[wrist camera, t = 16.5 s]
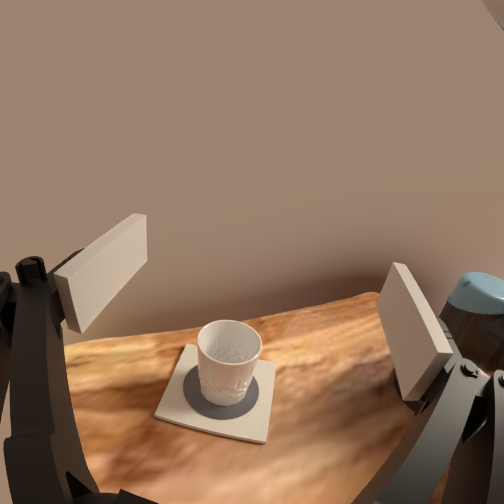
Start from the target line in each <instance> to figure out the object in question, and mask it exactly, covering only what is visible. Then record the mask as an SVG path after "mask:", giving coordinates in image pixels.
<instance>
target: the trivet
mask: <svg viewBox="0 0 504 504" xmlns="http://www.w3.org/2000/svg"><path fill="white" fill-rule="evenodd" d="M275 370H276V363H275V362H270V361H264V360H259V359H258V362H257V365H256V368H255V371H254V374H253V377H252V380H251V383H250V385H249V386H248V388H247V391H246V394H245V397H244V398H243V399H242V400H241V401H240V402H239V403H237V404H234V405H230V406H221V405H215V404H213V403H212V402H210V401H208V400H207V399H206V398H205V397H204V396H203V394H202V393H201V388H200V379H199V372H198V352H197V346H196V345H193V344H189V343H187V344H186V346H185V348H184V351H183V353H182V355H181V357H180V359H179V361H178V364H177V366H176V368H175V370H174V372H173V375H172V377H171V379H170V381H169V383H168V386H167V388H166V390H165V392H164V394H163V397H162V399H161V401H160V403H159V405H158V408H157V410H156V412H155V417H156V418H159V419H162V420H165V421H168V422H172V423H175V424H178V425H182V426H185V427H189V428H192V429H196V430H200V431H204V432H208V433H212V434H216V435H220V436H225V437H229V438H234V439H239V440H244V441H250V442H256V443H262V444H265V443H266V439H267V432H268V425H269V418H270V410H271V403H272V395H273V387H274V379H275Z"/></svg>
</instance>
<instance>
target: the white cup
mask: <svg viewBox="0 0 504 504" xmlns="http://www.w3.org/2000/svg"><path fill="white" fill-rule="evenodd" d="M261 349H262V341H261V338H260V336H259V334H258V333H257V332H256V331H255V330H254V329H253V328H251V327H250V326H248V325H246V324H244V323H241V322H238V321H233V320H219V321H215V322H211V323H209V324H207V325H205V326H204V327H203V328H202V329H201V330H200V332H199V333H198V336H197V352H198V372H199V379H200V388H201V393H202V394H203V396H204V397H205V398H206V399H207V400H208V401H210V402H212V403H213V404H215V405H221V406H230V405H234V404H237V403H239V402H240V401H241V400H242V399H243V398H244V397H245V394H246V391H247V388H248V386H249V385H250V383H251V380H252V377H253V374H254V371H255V368H256V365H257V362H258V359H259V355H260V352H261Z"/></svg>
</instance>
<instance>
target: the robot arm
mask: <svg viewBox="0 0 504 504" xmlns="http://www.w3.org/2000/svg"><path fill="white" fill-rule="evenodd" d="M482 1H483V3H484V4H485V6H486V8H487V9H488V11H489V12H490V14H491V15H492V16H493V18H494V19H495V20H496V21H497V22H498V24H499V25H500V27H501V28H502V29H503V30H504V0H482ZM146 244H147V243H146V215H142V214H135V213H134V214H132V215H131V216H129V217H128V218H126V219H125V220H124V221H122V222H121V223H119V224H118V225H116V226H115V227H114V228H112V229H111V230H109V231H108V232H107V233H105V234H104V235H102V236H101V237H100V238H98V239H97V240H96V241H94V242H93V243H92V244H90V245H89V246H88V247H86V248H84V249H81V250H79V251H76V252H74V253H73V254H72V255H70V256H69V257H68V259H65V260H64V261H62V263H60V264H59V265H57V266H56V267H55V268H54V269H52V270H51V271H50V272H49V273H47V274H46V270H45V266H44V261H43V259H42V258H41V257H37V256H32V257H27V258H25V259H22V260H21V261H20V262H18V263H17V265H16V266H15V268H16V272H17V275H18V279H19V282H20V283H12V281H11V278H10V275H9V273H7V272H0V422H1V415H2V411H3V406H4V401H5V396H6V392H7V388H8V384H9V380H10V418H11V437H9V438H6V439H5V441H4V457H5V465H6V471H7V477H8V483H9V488H10V493H11V497H12V502H13V504H158V503H156V502H153V501H151V500H148V499H145V498H142V497H140V496H137V495H134V494H132V493H129V492H127V491H125V490H122V489H120V491H119V494H116V493H100V492H99V489H98V487H97V485H96V483H95V481H94V479H93V477H92V475H91V474H90V472H89V470H88V467H87V464H86V461H85V458H84V454H83V451H82V447H81V443H80V439H79V435H78V431H77V427H76V423H75V418H74V413H73V408H72V403H71V398H70V392H69V386H68V379H67V372H66V364H65V356H64V345H63V333H62V327H61V324H60V323H61V322H62V321H63V320H64V319H66V322H67V325H68V329H70V330H73V331H75V332H78V333H80V334H82V333H83V332H84V331H85V330H86V329H87V327H88V326H89V325H90V324H91V323H92V322H93V320H94V319H95V318H96V317H97V315H98V314H99V313H100V312H101V311H102V310H103V309H104V307H105V306H106V305H107V304H108V303H109V302H110V301H111V300H112V298H113V297H114V296H115V295H116V294H117V293H118V292H119V291H120V289H121V288H122V287H123V286H124V285H125V284H126V283H127V282H128V281H129V279H130V278H131V277H132V276H133V275H134V274H135V273H136V272H137V271H138V270H139V269H140V268H141V267H142V265H143V264H144V263H145V262H146V261H147V245H146ZM376 307H377V310H378V313H379V316H380V319H381V323H382V326H383V329H384V332H385V336H386V339H387V342H388V346H389V349H390V353H391V356H392V360H393V363H394V367H395V371H396V373H395V384H396V388H397V391H398V393H399V395H400V396H401V398H402V399H403V401H404V402H405V403H406V404H407V405H408V406H409V407H410V408H411V409H413V410H414V411H416V413H415V414H414V415H417V416H416V417H415V419H414V420H413V422H412V424H411V425H410V427H409V428H408V430H407V432H406V433H405V435H404V436H403V438H402V439H401V441H400V442H399V444H398V445H397V446H396V448H395V449H394V451H393V452H392V454H391V455H390V456H389V458H388V459H387V460H386V462H385V463H384V464H383V466H382V467H381V468H380V470H379V471H378V472H377V473H376V475H375V476H374V477H373V478H372V480H371V481H370V482H369V483H368V484H367V486H366V487H365V488H364V489H363V490H362V491H361V493H360V494H359V495H358V496H357V497H356V498H355V499H354V500H353V502H352V503H351V504H427V503H428V501H429V499H430V498H431V496H432V494H433V492H434V491H435V489H436V487H437V485H438V483H439V482H440V480H441V478H442V476H443V474H444V472H445V470H446V468H447V466H448V464H449V462H450V460H451V457H452V455H453V457H452V462H451V466H450V471H449V475H448V479H447V483H446V487H445V491H444V494H443V498H442V501H441V504H504V281H503V280H501V279H499V278H496V277H494V276H491V275H488V274H485V273H480V272H469V273H466V274H464V275H462V276H461V277H460V278H459V279H458V281H457V283H456V285H455V287H454V289H453V290H452V292H451V293H450V294H449V296H448V300H447V302H446V304H445V306H444V308H443V310H442V312H441V314H440V316H439V317H438V316H435V315H434V314H433V312H432V310H431V308H430V306H429V304H428V303H427V301H426V299H425V297H424V295H423V294H422V292H421V290H420V288H419V287H418V285H417V283H416V281H415V280H414V278H413V276H412V275H411V273H410V271H409V270H408V268H407V267H406V265H404V264H400V263H395V262H393V264H392V266H391V269H390V272H389V274H388V276H387V279H386V282H385V284H384V287H383V289H382V291H381V294H380V296H379V299H378V301H377V303H376ZM478 368H480V369H481V370H482V371H484V372H485V373H486V374H487V375H489V376H490V377H491V378H489V377H486V376H482V375H480V371H479V369H478ZM485 421H486V422H485Z"/></svg>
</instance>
